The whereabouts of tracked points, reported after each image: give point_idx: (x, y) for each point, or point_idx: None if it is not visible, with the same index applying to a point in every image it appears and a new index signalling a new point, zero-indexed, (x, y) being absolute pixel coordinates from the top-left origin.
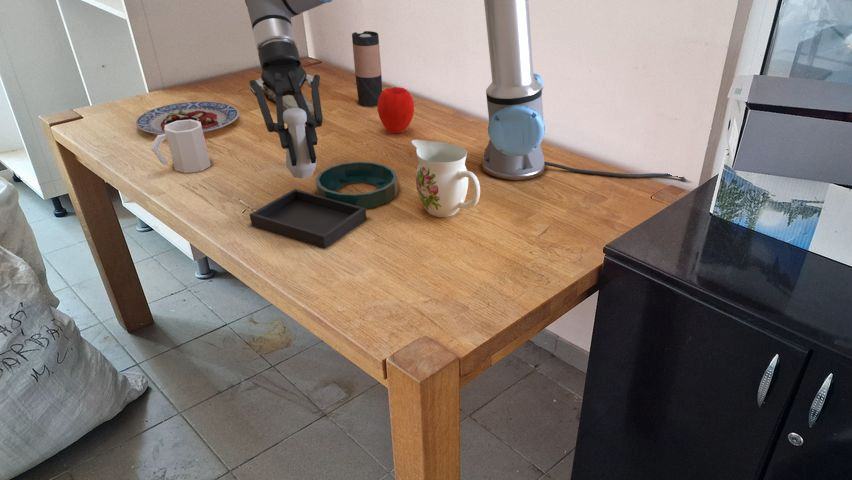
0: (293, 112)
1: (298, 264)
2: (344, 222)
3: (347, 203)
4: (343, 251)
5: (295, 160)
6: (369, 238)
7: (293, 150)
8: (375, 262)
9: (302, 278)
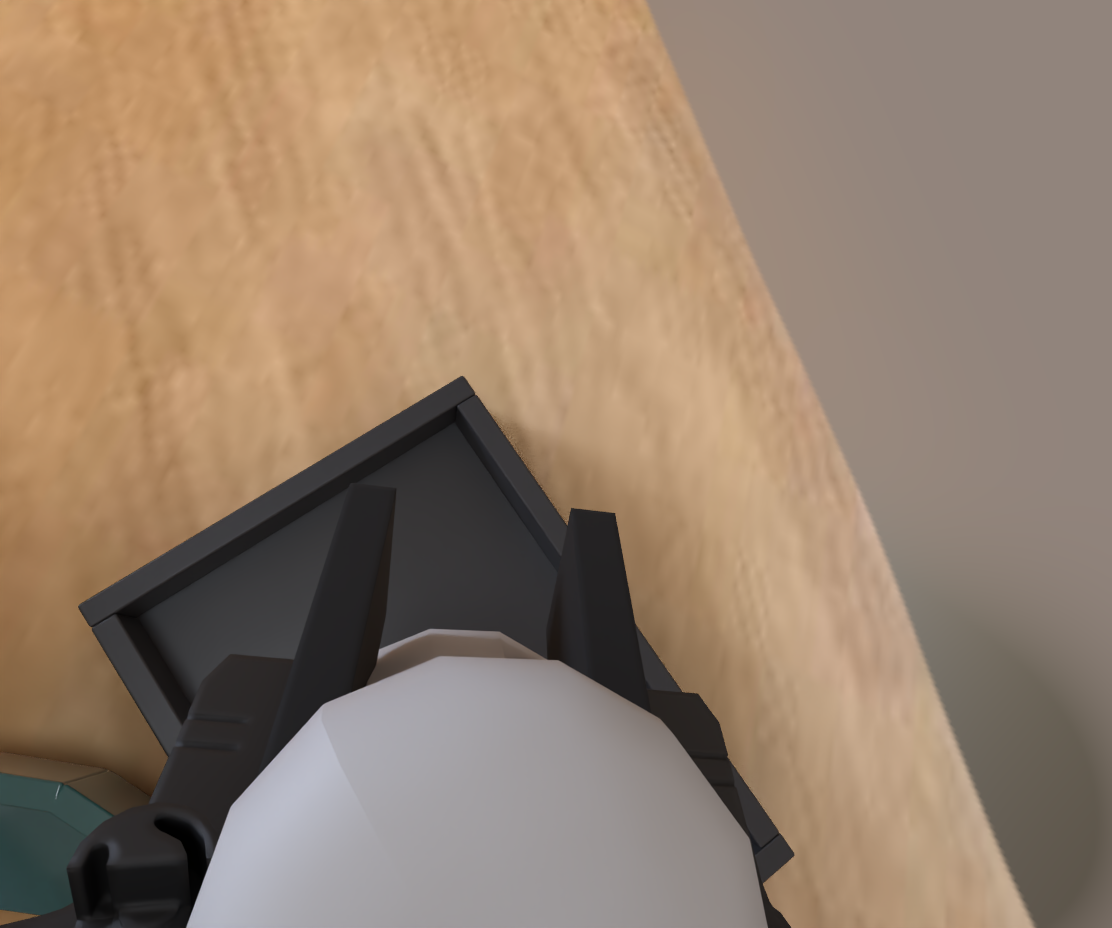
0: (552, 802)
1: (620, 320)
2: (290, 479)
3: (159, 731)
4: (385, 328)
5: (581, 513)
6: (203, 386)
7: (588, 582)
8: (283, 163)
9: (632, 206)
